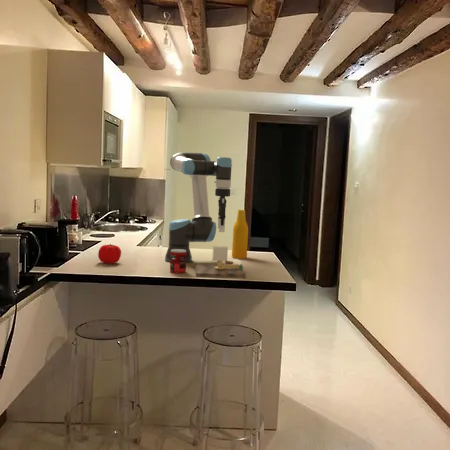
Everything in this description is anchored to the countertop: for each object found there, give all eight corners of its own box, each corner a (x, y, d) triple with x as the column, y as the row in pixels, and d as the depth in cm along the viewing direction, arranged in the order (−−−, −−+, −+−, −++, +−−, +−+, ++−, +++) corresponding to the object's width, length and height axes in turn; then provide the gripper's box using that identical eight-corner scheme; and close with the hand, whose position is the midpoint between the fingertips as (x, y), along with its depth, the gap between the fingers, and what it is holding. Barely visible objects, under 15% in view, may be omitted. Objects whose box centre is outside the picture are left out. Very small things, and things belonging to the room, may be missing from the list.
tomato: (98, 265, 244) (98, 245, 243) (97, 261, 255) (98, 242, 254) (121, 265, 247) (122, 245, 246) (120, 261, 258) (120, 242, 257)
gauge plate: (195, 276, 228) (195, 268, 228) (195, 266, 252) (196, 259, 251) (244, 277, 229) (245, 269, 229) (240, 267, 253) (240, 260, 253)
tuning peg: (211, 267, 242) (212, 245, 241) (237, 267, 245) (238, 246, 244) (213, 269, 237) (214, 247, 236) (239, 269, 240) (240, 247, 239)
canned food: (170, 270, 240) (170, 248, 239) (185, 270, 241) (186, 249, 239) (169, 273, 232) (170, 251, 231) (185, 273, 233) (186, 251, 232)
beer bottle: (235, 259, 279) (237, 210, 276) (229, 256, 288) (231, 209, 285) (249, 258, 283) (251, 210, 280) (243, 256, 291) (245, 209, 288)
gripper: (214, 187, 248) (212, 227, 251) (216, 188, 224) (214, 233, 226) (228, 187, 249) (226, 227, 251) (232, 189, 224) (230, 233, 226)
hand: (221, 230), depth 239 cm, fingers open, 13 cm apart
